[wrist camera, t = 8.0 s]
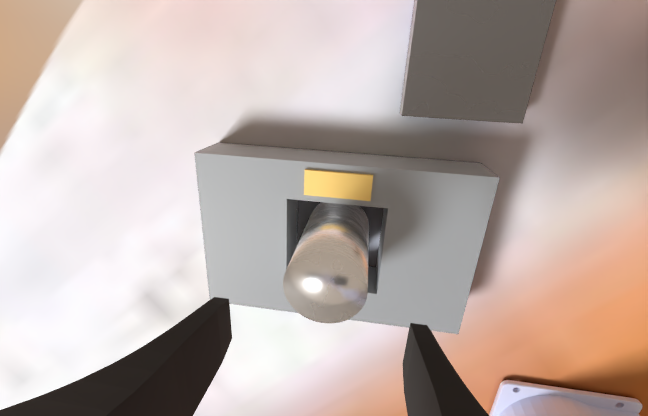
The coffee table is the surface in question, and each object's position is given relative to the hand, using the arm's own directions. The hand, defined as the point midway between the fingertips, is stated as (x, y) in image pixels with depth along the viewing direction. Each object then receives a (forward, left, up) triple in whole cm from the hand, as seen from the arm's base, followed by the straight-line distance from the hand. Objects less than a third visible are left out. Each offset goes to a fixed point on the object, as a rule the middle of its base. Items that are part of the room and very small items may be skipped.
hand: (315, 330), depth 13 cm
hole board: (0, 0, -10) cm, 10 cm away
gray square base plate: (-6, -11, -10) cm, 15 cm away
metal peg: (0, 0, -10) cm, 10 cm away
